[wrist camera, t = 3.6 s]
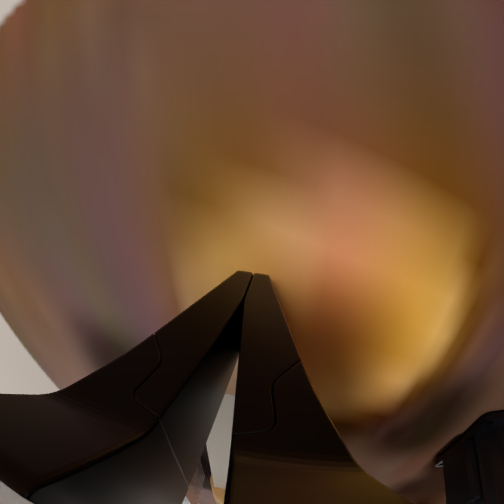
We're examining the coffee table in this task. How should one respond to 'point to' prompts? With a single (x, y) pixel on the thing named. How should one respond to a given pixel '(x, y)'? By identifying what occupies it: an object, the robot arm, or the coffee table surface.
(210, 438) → the white elongated bar
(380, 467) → the coffee table surface
